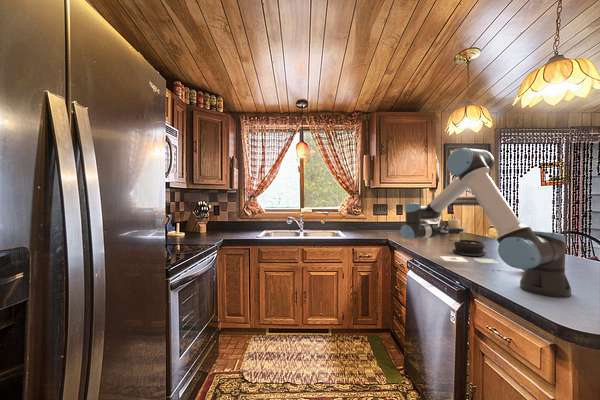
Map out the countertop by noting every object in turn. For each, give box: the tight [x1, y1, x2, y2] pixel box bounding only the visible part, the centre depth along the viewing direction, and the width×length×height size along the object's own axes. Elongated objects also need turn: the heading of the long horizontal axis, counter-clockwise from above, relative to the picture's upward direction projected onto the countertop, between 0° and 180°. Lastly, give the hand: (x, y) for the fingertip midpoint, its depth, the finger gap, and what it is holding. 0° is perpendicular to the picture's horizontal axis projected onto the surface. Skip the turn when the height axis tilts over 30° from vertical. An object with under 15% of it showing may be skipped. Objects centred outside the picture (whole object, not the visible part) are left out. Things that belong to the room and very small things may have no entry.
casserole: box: [451, 239, 487, 257], centre depth 176 cm, size 25×19×8 cm
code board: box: [439, 255, 469, 263], centre depth 160 cm, size 12×12×1 cm
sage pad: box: [472, 257, 501, 265], centre depth 155 cm, size 10×10×1 cm
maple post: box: [447, 219, 461, 243], centre depth 160 cm, size 6×6×12 cm
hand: (461, 229), depth 161 cm, fingers closed on maple post, 6 cm apart
